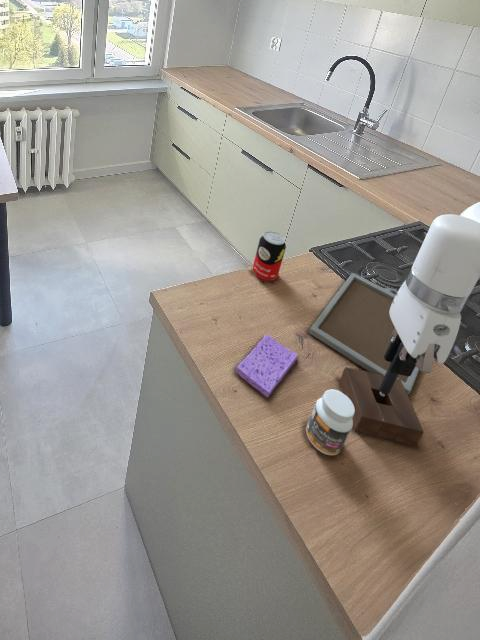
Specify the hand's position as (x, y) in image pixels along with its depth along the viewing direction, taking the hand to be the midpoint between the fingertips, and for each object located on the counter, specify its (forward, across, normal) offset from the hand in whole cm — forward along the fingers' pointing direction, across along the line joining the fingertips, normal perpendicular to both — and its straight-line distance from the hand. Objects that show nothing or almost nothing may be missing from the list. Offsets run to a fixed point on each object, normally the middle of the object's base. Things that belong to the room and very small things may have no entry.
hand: (396, 366), depth 73 cm
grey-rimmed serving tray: (+12, +22, -8) cm, 27 cm away
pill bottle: (+12, -8, +11) cm, 18 cm away
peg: (+8, 0, 0) cm, 8 cm away
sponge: (+13, +4, +19) cm, 23 cm away
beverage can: (+12, +32, +16) cm, 38 cm away
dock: (+12, 0, 0) cm, 12 cm away
